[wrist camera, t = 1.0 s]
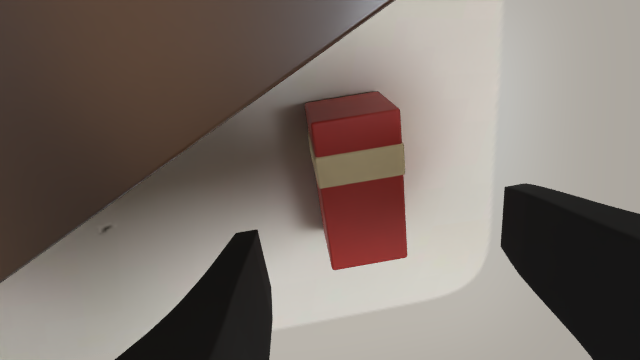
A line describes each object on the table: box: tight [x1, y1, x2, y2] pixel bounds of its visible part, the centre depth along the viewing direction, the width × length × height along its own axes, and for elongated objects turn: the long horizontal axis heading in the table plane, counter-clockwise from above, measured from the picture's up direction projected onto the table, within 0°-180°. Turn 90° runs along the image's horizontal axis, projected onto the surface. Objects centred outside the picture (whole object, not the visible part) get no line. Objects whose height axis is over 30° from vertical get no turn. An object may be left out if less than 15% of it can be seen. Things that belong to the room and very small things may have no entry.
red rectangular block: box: [305, 92, 407, 270], centre depth 15 cm, size 6×3×3 cm, turn 8°
